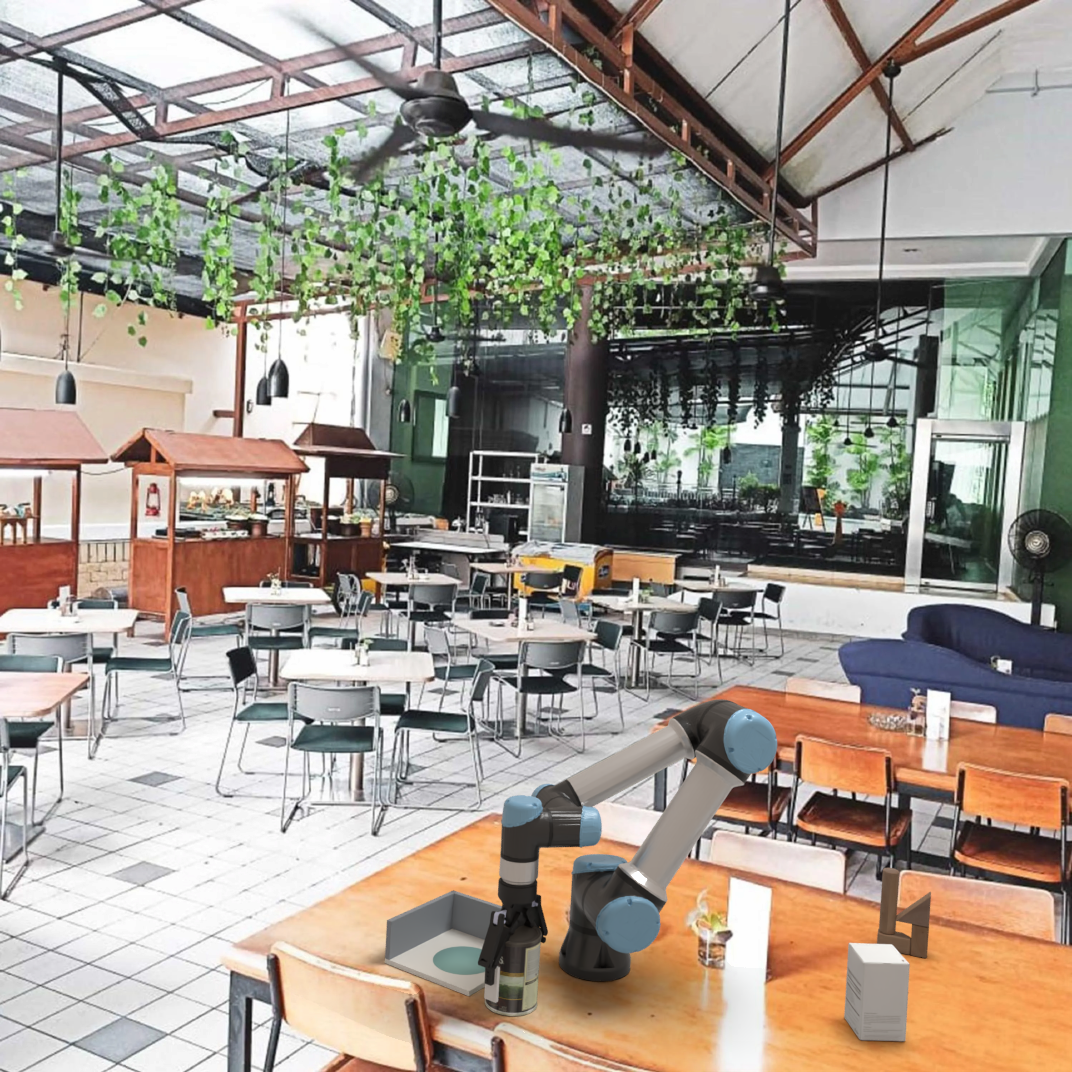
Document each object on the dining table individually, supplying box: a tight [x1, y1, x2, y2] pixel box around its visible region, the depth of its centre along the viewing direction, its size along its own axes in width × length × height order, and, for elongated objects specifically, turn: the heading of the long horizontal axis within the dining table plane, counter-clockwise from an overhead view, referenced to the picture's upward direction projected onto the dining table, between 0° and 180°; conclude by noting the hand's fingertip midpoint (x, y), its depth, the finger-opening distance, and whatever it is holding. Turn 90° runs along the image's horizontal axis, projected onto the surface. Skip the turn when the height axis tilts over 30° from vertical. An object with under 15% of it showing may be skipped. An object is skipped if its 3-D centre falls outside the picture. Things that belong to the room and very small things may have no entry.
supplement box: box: [843, 942, 911, 1042], centre depth 194 cm, size 9×9×15 cm
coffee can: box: [484, 924, 542, 1017], centre depth 196 cm, size 10×10×14 cm
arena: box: [384, 889, 502, 997], centre depth 213 cm, size 22×22×9 cm
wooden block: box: [876, 867, 932, 959], centre depth 231 cm, size 4×11×18 cm, turn 68°
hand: (512, 987), depth 196 cm, fingers open, 13 cm apart
